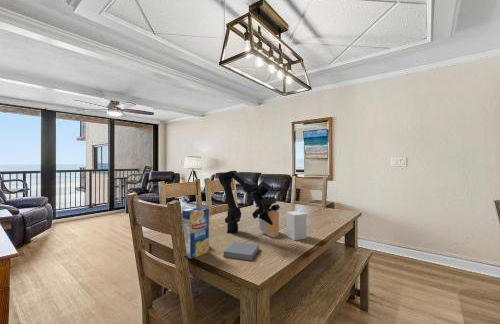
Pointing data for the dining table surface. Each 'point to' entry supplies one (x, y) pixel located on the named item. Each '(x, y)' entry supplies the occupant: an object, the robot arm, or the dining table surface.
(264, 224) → the teacup
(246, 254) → the display podium
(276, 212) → the orange carton
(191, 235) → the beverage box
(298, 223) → the supplement box
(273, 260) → the dining table surface
